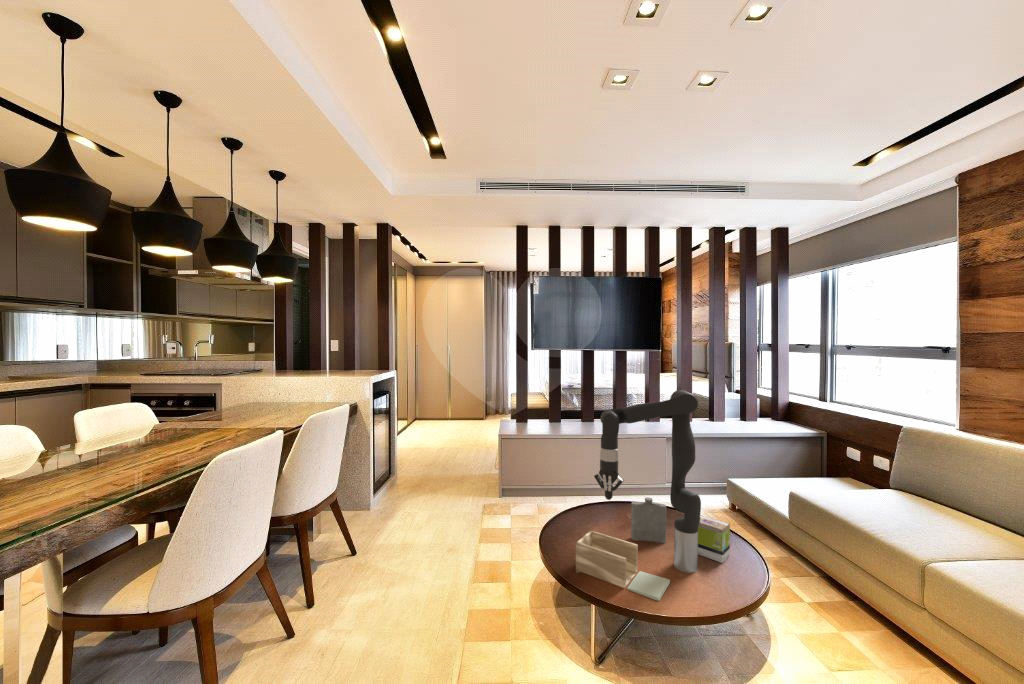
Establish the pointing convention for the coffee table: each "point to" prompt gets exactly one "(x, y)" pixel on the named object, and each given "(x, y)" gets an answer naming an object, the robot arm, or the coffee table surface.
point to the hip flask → (648, 521)
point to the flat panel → (649, 585)
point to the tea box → (713, 539)
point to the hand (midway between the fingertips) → (608, 499)
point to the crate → (607, 558)
